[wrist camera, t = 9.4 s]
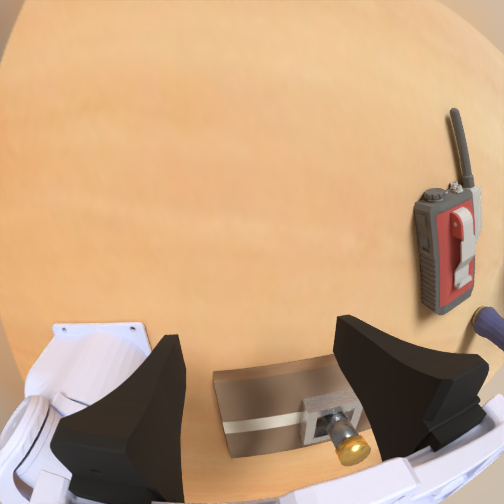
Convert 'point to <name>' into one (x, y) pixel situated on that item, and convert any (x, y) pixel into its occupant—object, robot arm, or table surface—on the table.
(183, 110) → the table surface
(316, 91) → the table surface
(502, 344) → the rubber mallet
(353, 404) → the pilot socket
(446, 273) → the walkie-talkie
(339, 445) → the gold-capped cylinder
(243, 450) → the board
